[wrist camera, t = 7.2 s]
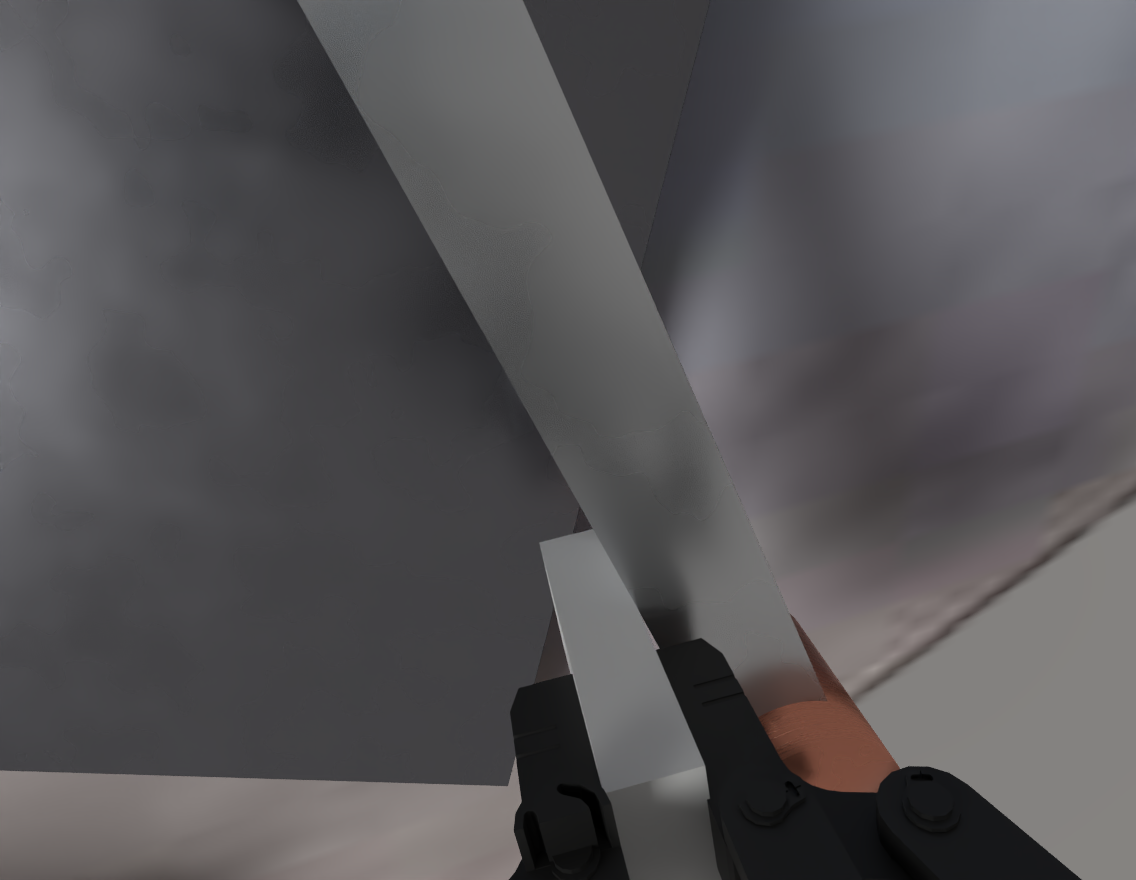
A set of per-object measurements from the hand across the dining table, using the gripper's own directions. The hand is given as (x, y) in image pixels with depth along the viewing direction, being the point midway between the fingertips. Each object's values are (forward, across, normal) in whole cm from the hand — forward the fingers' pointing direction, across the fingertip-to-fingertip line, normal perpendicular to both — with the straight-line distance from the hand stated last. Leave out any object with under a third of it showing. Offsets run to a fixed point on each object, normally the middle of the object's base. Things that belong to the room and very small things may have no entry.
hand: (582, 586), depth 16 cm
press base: (+6, -5, +8) cm, 11 cm away
